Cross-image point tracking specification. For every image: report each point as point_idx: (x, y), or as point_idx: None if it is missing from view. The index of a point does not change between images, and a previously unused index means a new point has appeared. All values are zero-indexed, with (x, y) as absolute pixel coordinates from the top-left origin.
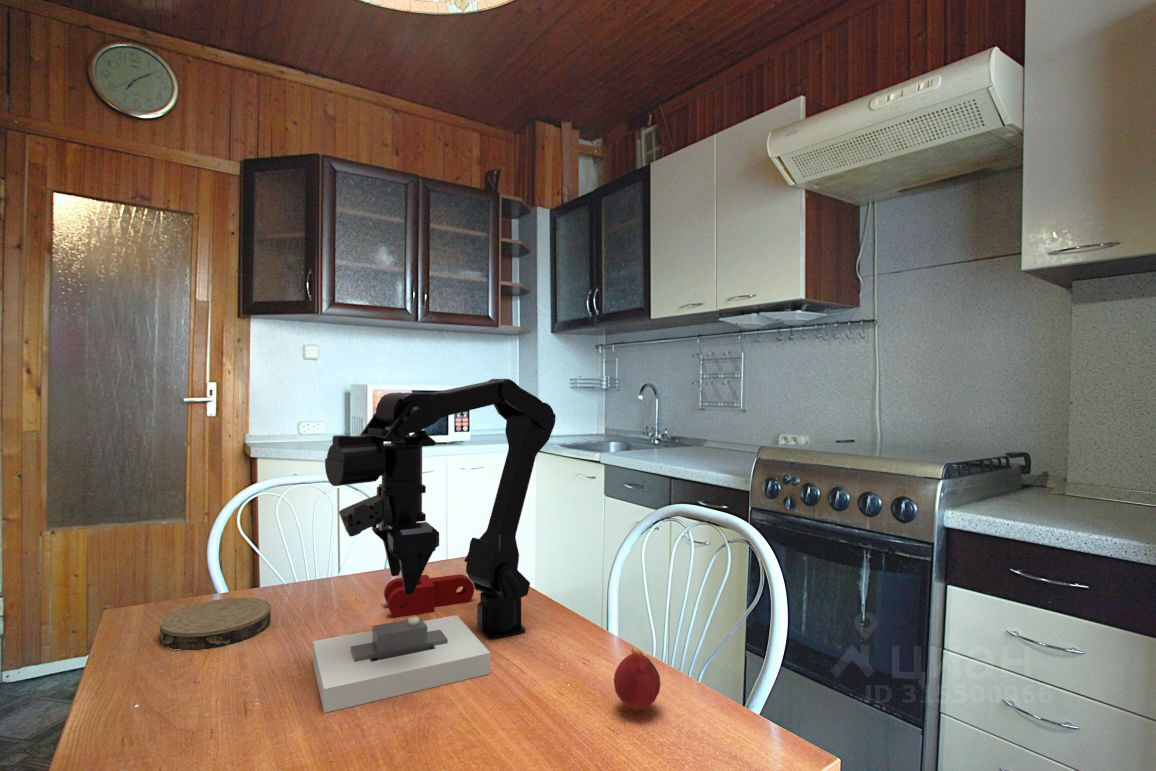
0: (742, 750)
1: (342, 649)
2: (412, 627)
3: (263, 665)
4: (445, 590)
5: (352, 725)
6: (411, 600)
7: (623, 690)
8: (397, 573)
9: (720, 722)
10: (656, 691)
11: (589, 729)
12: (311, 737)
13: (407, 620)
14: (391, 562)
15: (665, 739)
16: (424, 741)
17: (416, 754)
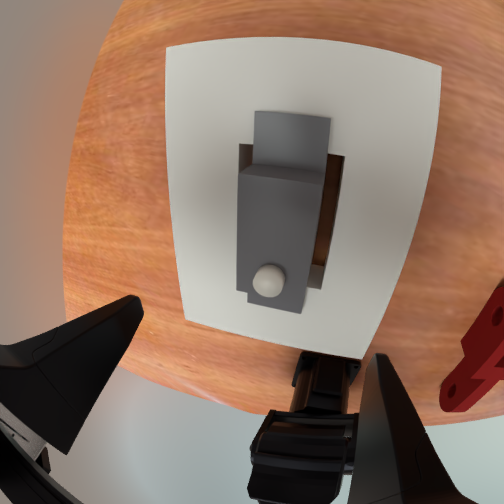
0: None
1: (349, 103)
2: (249, 265)
3: (449, 4)
4: (467, 379)
5: (140, 93)
6: (490, 330)
7: None
8: (368, 373)
9: None
10: None
11: (89, 294)
12: (138, 43)
13: (303, 275)
14: (378, 405)
15: (80, 316)
16: (90, 171)
17: (77, 158)
